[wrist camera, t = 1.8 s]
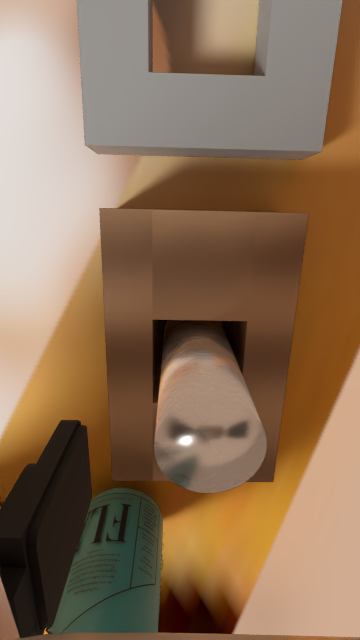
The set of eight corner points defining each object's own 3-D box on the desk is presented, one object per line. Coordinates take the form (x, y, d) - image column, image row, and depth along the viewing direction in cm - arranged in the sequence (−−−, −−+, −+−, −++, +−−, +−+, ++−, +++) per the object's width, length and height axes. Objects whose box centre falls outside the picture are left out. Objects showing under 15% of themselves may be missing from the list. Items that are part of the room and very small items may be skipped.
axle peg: (220, 359, 24) (260, 493, 13) (164, 358, 24) (153, 492, 13) (224, 304, 23) (272, 399, 12) (164, 303, 23) (154, 397, 12)
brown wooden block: (255, 432, 26) (273, 482, 21) (123, 430, 26) (112, 480, 21) (278, 212, 21) (308, 213, 16) (116, 208, 21) (99, 208, 16)
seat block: (301, 159, 20) (321, 151, 17) (97, 153, 20) (84, 144, 17) (333, -112, 17) (366, -179, 14) (84, -123, 16) (65, -192, 14)
